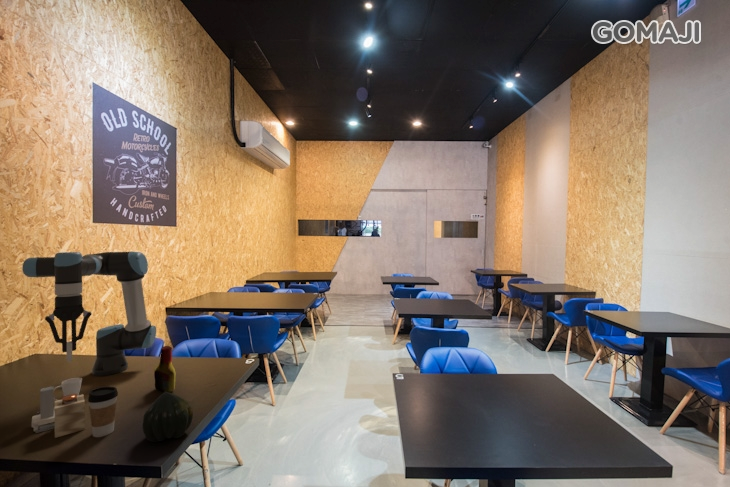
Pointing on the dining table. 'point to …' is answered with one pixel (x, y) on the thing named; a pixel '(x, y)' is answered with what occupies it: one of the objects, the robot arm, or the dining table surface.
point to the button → (69, 398)
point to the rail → (45, 426)
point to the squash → (167, 418)
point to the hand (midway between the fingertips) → (69, 360)
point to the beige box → (69, 416)
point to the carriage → (45, 408)
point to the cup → (71, 386)
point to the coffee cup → (102, 410)
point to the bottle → (165, 371)
